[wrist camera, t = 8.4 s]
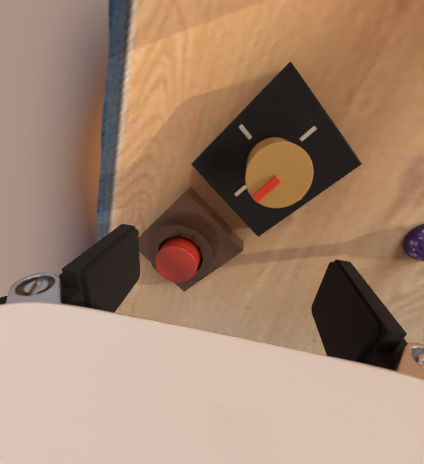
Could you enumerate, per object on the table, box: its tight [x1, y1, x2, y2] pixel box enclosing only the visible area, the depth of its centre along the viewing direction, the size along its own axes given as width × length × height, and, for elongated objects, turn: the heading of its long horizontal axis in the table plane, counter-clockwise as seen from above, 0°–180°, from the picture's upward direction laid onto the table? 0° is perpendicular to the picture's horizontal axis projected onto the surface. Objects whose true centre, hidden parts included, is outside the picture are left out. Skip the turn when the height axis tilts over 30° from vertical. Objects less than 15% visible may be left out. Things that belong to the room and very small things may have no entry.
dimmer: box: [192, 62, 362, 236], centre depth 21 cm, size 11×10×3 cm
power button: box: [155, 237, 200, 282], centre depth 23 cm, size 4×4×2 cm
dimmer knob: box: [245, 137, 313, 208], centre depth 17 cm, size 4×4×6 cm
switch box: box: [139, 187, 243, 291], centre depth 26 cm, size 10×9×4 cm
